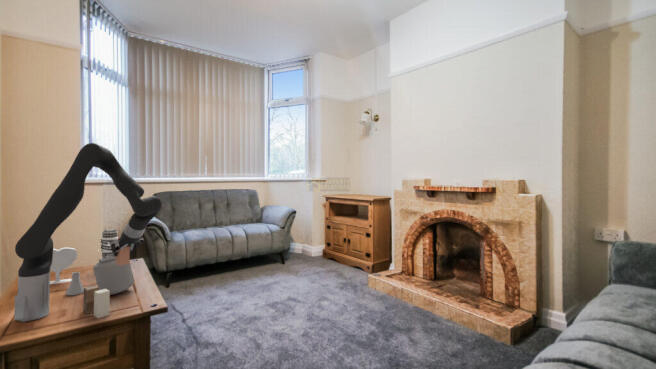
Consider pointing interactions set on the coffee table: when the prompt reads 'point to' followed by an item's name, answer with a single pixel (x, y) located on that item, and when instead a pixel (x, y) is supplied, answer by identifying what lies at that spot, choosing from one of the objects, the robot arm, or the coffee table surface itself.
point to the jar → (113, 275)
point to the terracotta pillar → (123, 256)
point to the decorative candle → (108, 241)
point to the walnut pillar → (89, 299)
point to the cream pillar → (101, 303)
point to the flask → (75, 285)
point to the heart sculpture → (62, 262)
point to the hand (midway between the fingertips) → (120, 254)
